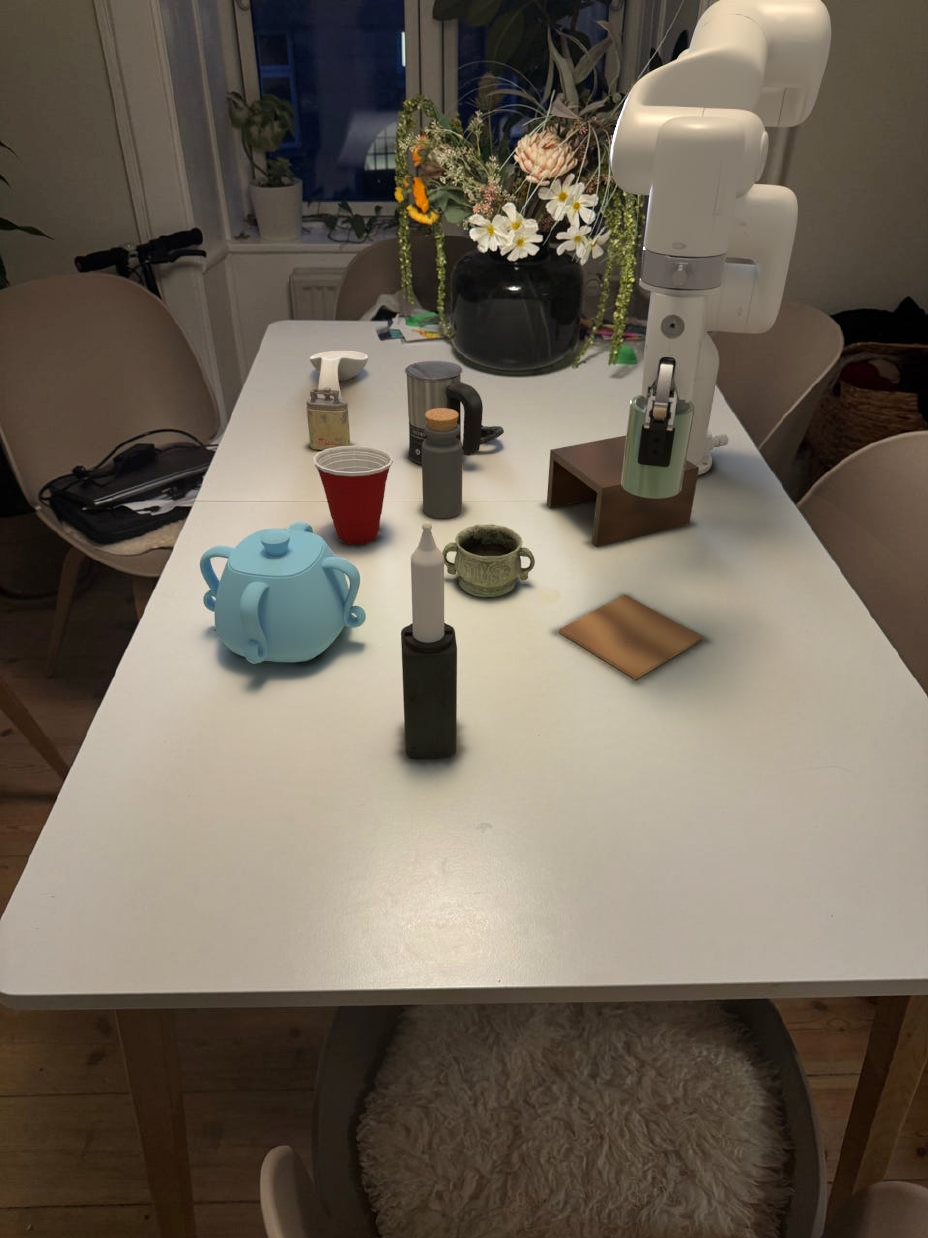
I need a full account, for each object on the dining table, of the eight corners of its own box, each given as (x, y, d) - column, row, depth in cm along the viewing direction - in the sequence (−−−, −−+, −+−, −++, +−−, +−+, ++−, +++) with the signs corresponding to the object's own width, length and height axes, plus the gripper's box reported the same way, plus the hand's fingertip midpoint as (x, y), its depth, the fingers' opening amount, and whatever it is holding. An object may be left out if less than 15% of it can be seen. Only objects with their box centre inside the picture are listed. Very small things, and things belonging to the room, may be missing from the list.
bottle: (457, 520, 128) (458, 423, 120) (418, 516, 129) (416, 419, 121) (465, 503, 133) (466, 407, 125) (427, 499, 134) (426, 404, 126)
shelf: (634, 486, 139) (641, 432, 134) (689, 524, 128) (699, 467, 123) (546, 505, 133) (550, 449, 128) (596, 546, 122) (602, 488, 117)
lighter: (353, 444, 151) (349, 387, 145) (347, 453, 148) (343, 395, 142) (313, 441, 152) (307, 385, 146) (306, 450, 149) (301, 393, 143)
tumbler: (657, 468, 97) (669, 389, 92) (693, 492, 92) (708, 409, 87) (609, 478, 95) (618, 397, 90) (643, 503, 90) (655, 419, 85)
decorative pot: (377, 654, 101) (372, 551, 94) (240, 694, 95) (223, 587, 87) (327, 587, 113) (319, 491, 105) (202, 618, 107) (184, 518, 99)
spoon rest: (314, 365, 185) (311, 331, 181) (370, 366, 185) (369, 331, 181) (300, 406, 166) (296, 369, 161) (362, 406, 166) (360, 369, 162)
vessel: (437, 596, 111) (436, 553, 108) (446, 561, 119) (446, 520, 115) (531, 603, 110) (534, 560, 107) (534, 567, 118) (537, 526, 114)
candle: (404, 725, 91) (396, 509, 77) (453, 723, 91) (454, 507, 77) (405, 760, 87) (397, 538, 73) (457, 757, 87) (458, 536, 73)
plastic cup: (408, 523, 127) (405, 446, 121) (378, 559, 119) (373, 477, 112) (340, 511, 130) (334, 435, 124) (306, 545, 122) (297, 465, 115)
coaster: (624, 597, 112) (625, 594, 111) (702, 640, 104) (702, 636, 104) (558, 632, 105) (558, 628, 105) (635, 680, 98) (636, 676, 97)
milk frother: (397, 461, 145) (394, 373, 137) (435, 428, 157) (435, 345, 149) (477, 476, 141) (479, 386, 133) (510, 440, 153) (514, 356, 145)
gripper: (721, 295, 74) (688, 490, 84) (724, 253, 88) (696, 424, 98) (631, 289, 75) (610, 481, 85) (648, 248, 89) (628, 417, 99)
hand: (656, 449), depth 91 cm, fingers closed on tumbler, 6 cm apart
